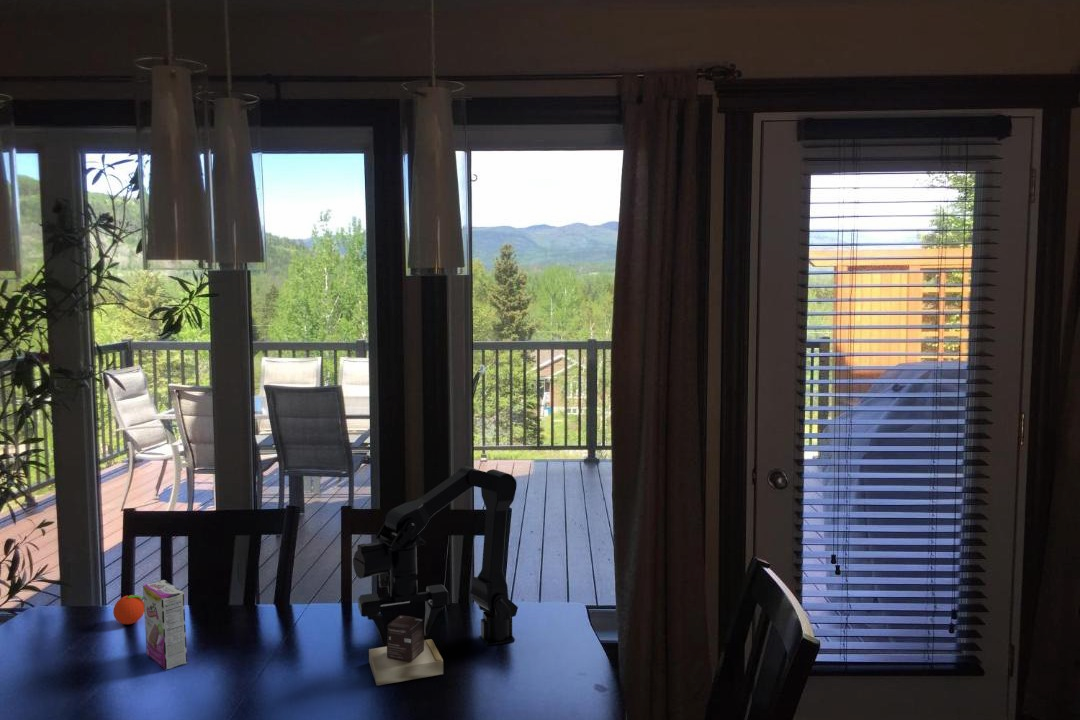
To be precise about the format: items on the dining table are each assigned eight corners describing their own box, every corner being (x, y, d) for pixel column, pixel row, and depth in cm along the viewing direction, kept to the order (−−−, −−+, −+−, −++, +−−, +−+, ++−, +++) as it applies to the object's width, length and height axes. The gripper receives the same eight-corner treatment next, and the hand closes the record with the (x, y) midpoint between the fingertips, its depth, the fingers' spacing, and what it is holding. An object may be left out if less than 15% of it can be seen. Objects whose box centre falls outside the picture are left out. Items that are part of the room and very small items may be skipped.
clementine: (152, 615, 197) (151, 588, 196) (146, 626, 190) (145, 598, 190) (117, 619, 195) (116, 591, 194) (110, 630, 188) (109, 602, 188)
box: (386, 658, 166) (385, 625, 165) (400, 646, 172) (399, 614, 171) (411, 663, 164) (410, 629, 163) (425, 650, 170) (424, 618, 169)
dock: (432, 652, 175) (431, 638, 175) (443, 674, 165) (443, 659, 165) (369, 662, 171) (368, 648, 170) (376, 685, 160) (376, 670, 160)
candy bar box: (144, 656, 174) (141, 584, 173) (167, 648, 178) (164, 578, 177) (164, 672, 167) (161, 597, 166) (188, 663, 171) (185, 591, 169)
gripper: (437, 551, 177) (438, 618, 178) (354, 561, 170) (355, 630, 172) (449, 567, 167) (450, 637, 168) (360, 578, 160) (362, 651, 161)
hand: (404, 638), depth 167 cm, fingers open, 9 cm apart
